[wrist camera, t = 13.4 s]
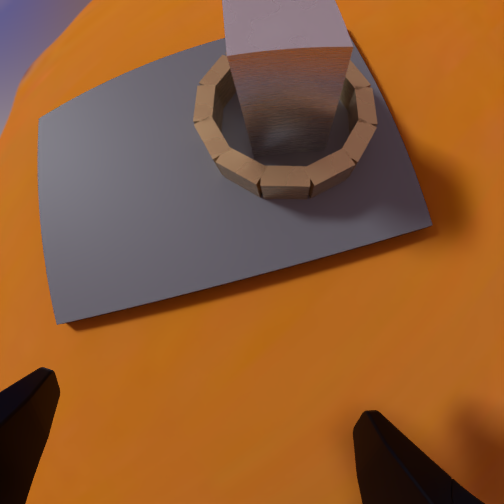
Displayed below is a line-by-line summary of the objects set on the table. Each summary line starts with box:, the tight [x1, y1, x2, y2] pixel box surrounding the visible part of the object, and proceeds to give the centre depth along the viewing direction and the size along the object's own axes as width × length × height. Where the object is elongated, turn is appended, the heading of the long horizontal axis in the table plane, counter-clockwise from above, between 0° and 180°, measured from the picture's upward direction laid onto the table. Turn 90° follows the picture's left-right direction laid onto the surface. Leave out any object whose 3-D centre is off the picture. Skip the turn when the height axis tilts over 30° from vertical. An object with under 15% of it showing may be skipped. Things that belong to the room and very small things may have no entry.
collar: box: [193, 52, 377, 200], centre depth 16 cm, size 9×9×2 cm
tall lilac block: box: [222, 0, 353, 157], centre depth 13 cm, size 4×4×9 cm
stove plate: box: [38, 38, 432, 325], centre depth 18 cm, size 24×16×1 cm, turn 105°
